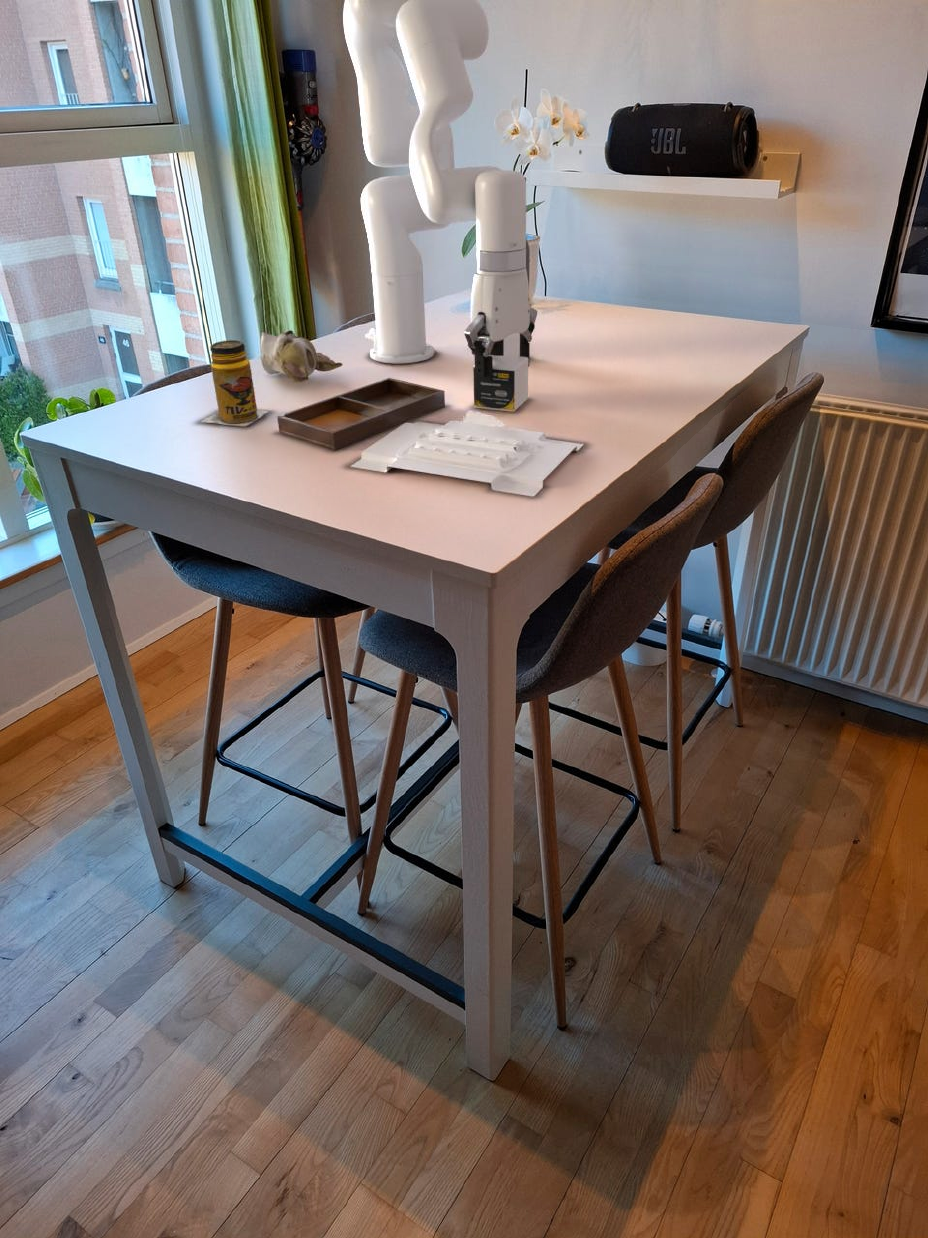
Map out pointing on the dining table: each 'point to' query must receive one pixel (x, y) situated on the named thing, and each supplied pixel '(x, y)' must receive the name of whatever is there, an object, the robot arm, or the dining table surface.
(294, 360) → the ceramic sculpture
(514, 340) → the medicine bottle
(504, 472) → the tray
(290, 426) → the dark wooden divided tray
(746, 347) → the dining table surface
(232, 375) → the condiment
